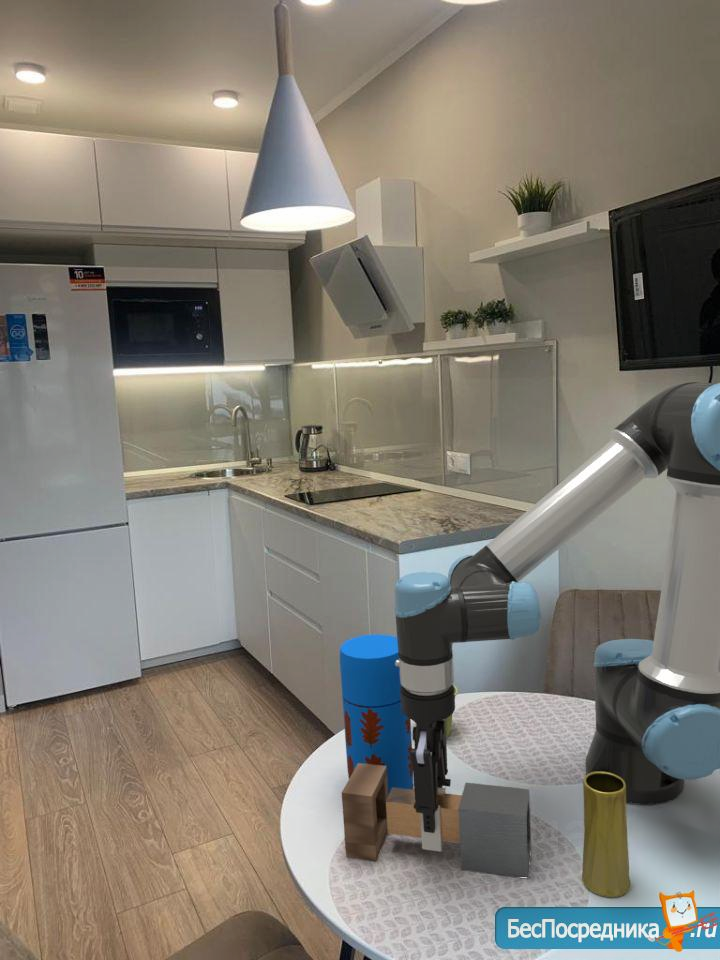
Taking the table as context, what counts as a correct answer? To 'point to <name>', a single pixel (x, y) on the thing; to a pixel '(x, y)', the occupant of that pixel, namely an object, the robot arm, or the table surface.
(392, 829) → the rectangular peg
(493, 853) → the sleeve
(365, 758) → the thermos
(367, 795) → the socket block
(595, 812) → the vase
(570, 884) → the table surface
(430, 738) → the robot arm
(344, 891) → the table surface
